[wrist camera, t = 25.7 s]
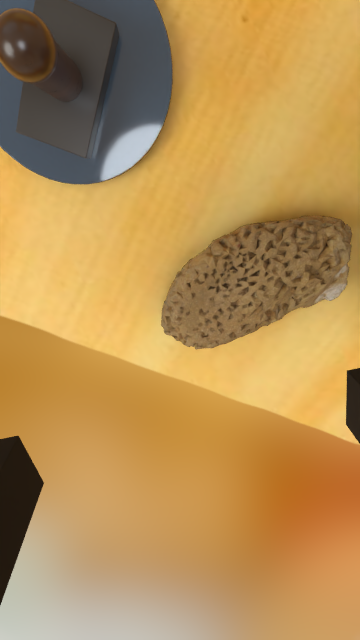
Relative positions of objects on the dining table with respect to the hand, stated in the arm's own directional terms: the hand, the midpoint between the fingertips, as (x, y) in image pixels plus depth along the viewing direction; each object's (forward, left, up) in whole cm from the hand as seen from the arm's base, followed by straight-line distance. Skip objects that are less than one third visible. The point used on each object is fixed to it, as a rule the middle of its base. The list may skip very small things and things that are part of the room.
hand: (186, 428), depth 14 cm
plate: (+5, -18, -27) cm, 33 cm away
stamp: (+5, -17, -26) cm, 31 cm away
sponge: (-8, +4, -27) cm, 28 cm away
